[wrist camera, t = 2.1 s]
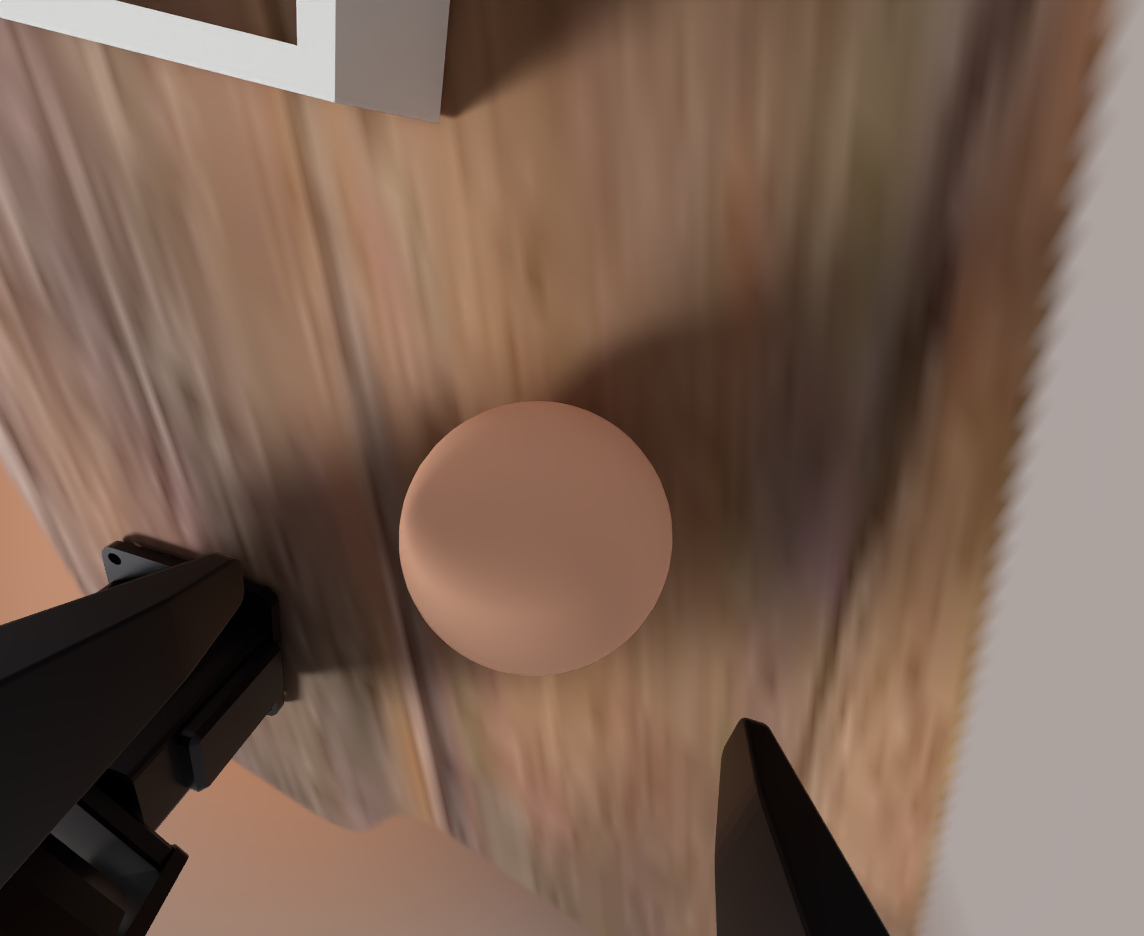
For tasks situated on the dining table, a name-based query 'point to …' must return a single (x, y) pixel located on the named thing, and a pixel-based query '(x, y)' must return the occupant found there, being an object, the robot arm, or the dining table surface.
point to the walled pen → (283, 47)
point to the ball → (535, 538)
